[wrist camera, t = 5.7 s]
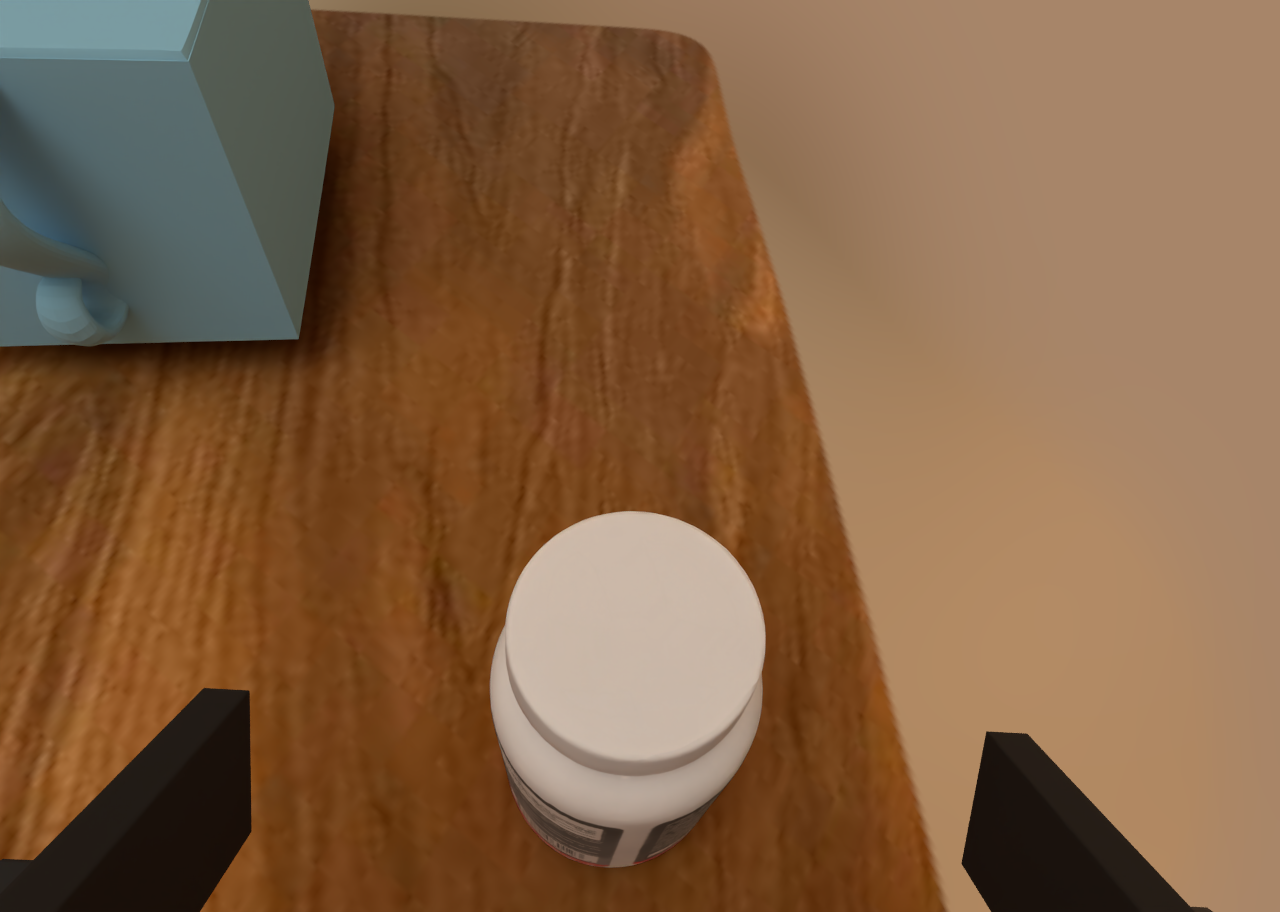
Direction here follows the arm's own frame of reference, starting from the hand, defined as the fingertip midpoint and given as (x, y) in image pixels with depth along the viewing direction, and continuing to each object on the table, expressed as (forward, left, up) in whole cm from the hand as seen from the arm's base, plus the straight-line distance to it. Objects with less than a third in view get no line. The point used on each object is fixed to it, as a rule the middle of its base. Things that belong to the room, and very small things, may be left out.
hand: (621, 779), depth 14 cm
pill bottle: (+2, -1, -8) cm, 9 cm away
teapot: (+28, +6, -8) cm, 30 cm away
